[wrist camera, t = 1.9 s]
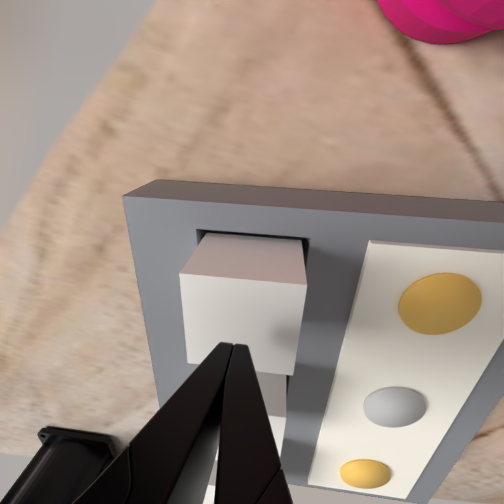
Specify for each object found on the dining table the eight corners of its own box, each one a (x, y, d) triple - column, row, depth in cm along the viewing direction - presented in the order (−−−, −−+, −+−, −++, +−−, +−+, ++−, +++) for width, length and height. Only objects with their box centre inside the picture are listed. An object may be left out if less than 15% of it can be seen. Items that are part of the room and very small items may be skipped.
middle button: (212, 394, 15) (196, 457, 13) (211, 345, 14) (191, 405, 11) (279, 403, 15) (278, 469, 12) (286, 354, 13) (286, 417, 11)
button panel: (184, 422, 21) (167, 474, 18) (155, 179, 13) (114, 199, 10) (407, 453, 20) (430, 514, 17) (540, 204, 12) (635, 237, 8)
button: (209, 307, 13) (187, 363, 10) (206, 232, 11) (179, 273, 8) (291, 316, 12) (293, 375, 10) (301, 240, 11) (307, 284, 8)
